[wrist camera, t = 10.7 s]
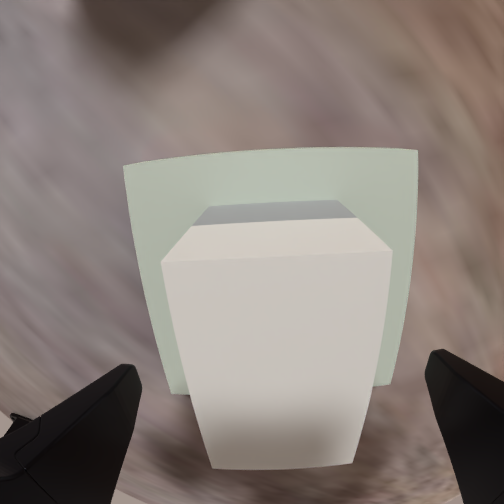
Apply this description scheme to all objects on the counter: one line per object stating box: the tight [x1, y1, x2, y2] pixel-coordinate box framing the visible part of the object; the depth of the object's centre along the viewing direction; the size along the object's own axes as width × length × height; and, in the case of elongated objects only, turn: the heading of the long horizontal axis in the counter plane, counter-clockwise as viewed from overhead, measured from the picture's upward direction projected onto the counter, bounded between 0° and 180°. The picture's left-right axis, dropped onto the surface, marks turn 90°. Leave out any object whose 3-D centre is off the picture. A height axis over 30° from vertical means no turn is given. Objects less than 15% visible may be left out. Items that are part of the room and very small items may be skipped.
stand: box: [123, 147, 418, 395], centre depth 14 cm, size 12×12×2 cm
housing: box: [161, 200, 393, 470], centre depth 11 cm, size 5×8×6 cm, turn 4°
